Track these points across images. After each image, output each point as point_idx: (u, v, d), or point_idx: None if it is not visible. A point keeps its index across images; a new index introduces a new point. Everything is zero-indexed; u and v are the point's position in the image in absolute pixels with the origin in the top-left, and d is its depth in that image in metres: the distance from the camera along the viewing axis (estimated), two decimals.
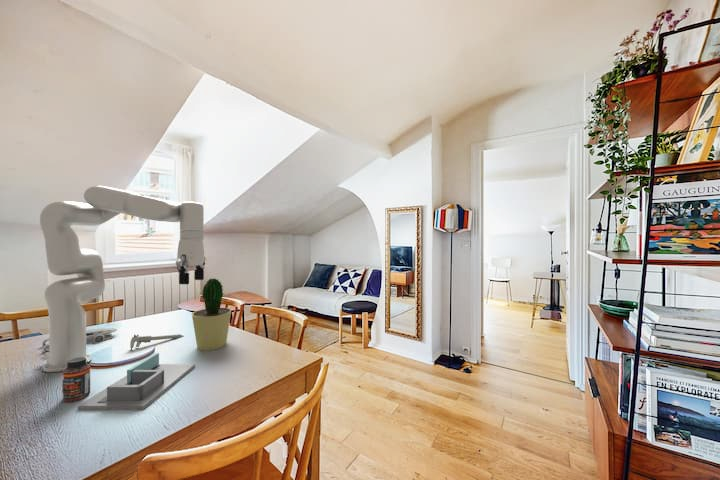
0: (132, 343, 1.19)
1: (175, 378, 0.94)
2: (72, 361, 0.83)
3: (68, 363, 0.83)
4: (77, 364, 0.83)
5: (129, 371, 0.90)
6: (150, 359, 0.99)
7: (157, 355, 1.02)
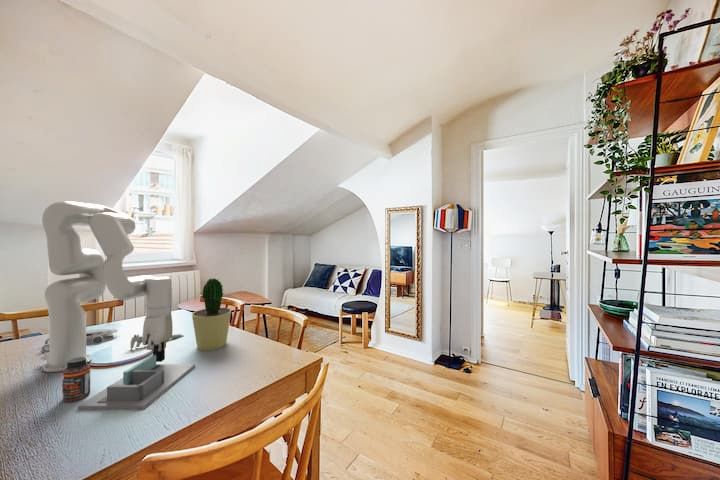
0: (132, 343, 1.19)
1: (175, 378, 0.94)
2: (72, 361, 0.83)
3: (68, 363, 0.83)
4: (77, 364, 0.83)
5: (125, 373, 0.89)
6: (147, 361, 0.97)
7: (154, 357, 1.01)
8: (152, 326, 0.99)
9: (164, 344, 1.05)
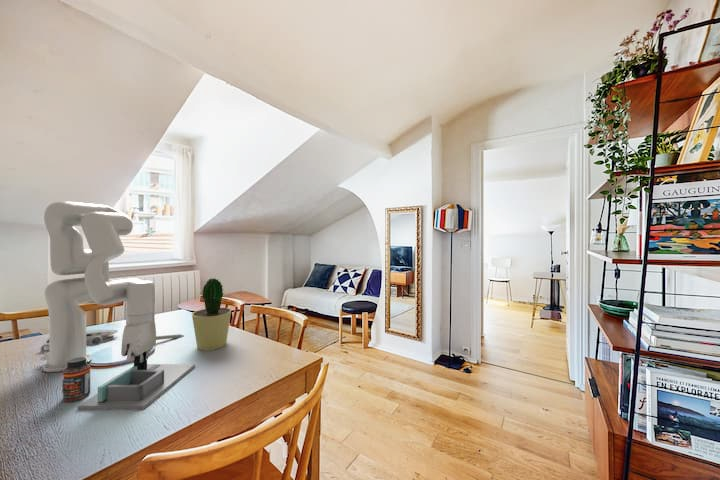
0: None
1: (175, 378, 0.94)
2: (72, 361, 0.83)
3: (68, 363, 0.83)
4: (77, 364, 0.83)
5: (100, 389, 0.80)
6: (126, 374, 0.89)
7: (135, 369, 0.92)
8: (132, 335, 0.90)
9: (146, 354, 0.96)
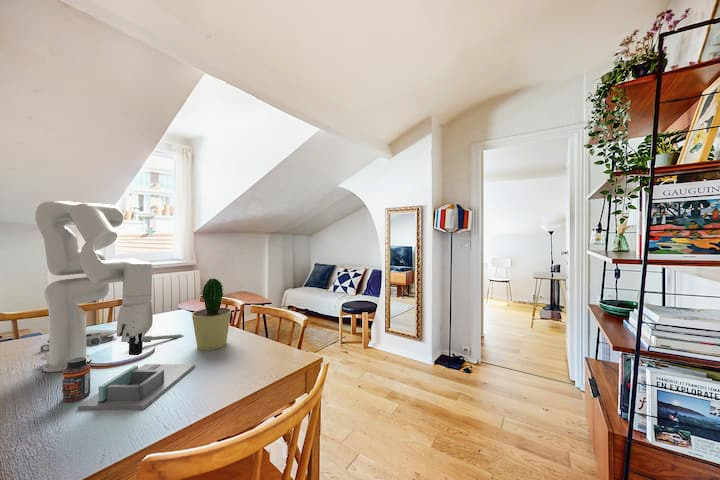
0: None
1: (175, 378, 0.94)
2: (72, 361, 0.83)
3: (68, 363, 0.83)
4: (77, 364, 0.83)
5: (101, 388, 0.80)
6: (127, 373, 0.89)
7: (136, 368, 0.92)
8: (128, 316, 0.89)
9: (142, 336, 0.95)
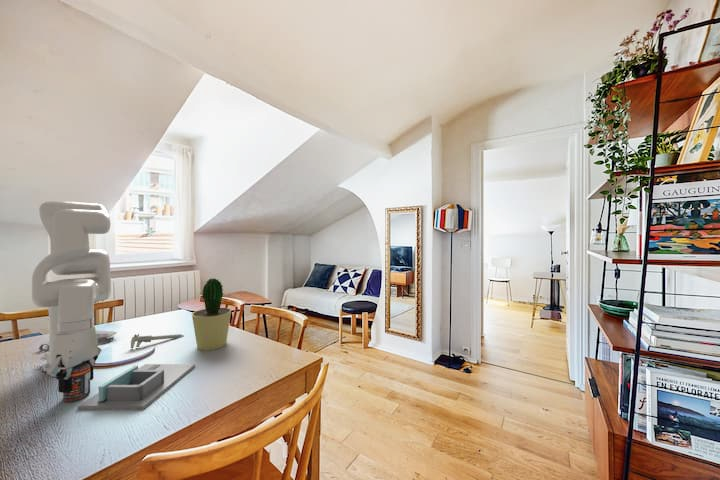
0: (132, 343, 1.20)
1: (175, 378, 0.94)
2: None
3: None
4: None
5: (101, 388, 0.80)
6: (127, 373, 0.89)
7: (136, 368, 0.92)
8: (63, 345, 0.80)
9: (93, 361, 0.88)
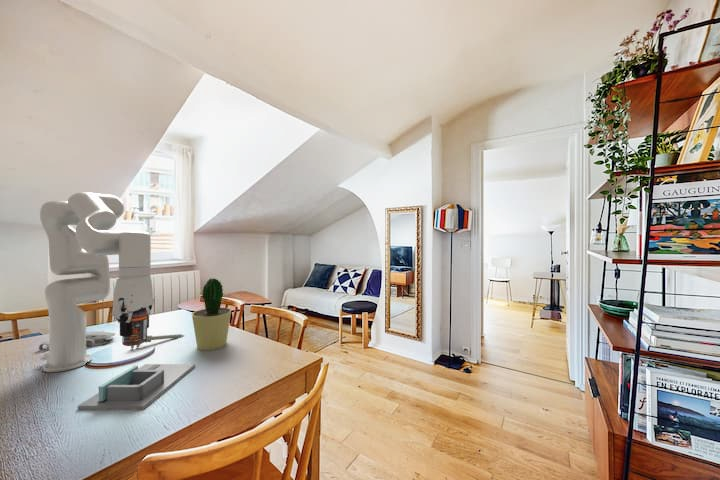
0: None
1: (175, 378, 0.94)
2: None
3: None
4: None
5: (101, 388, 0.80)
6: (127, 373, 0.89)
7: (136, 368, 0.92)
8: (125, 289, 0.81)
9: (148, 310, 0.90)
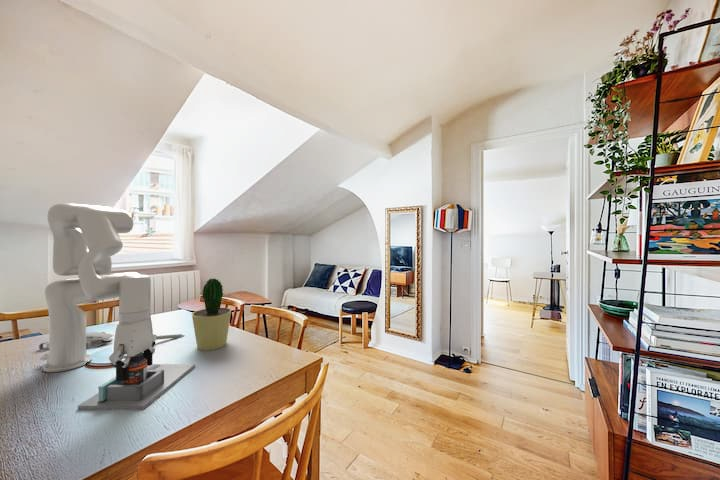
0: None
1: (175, 378, 0.94)
2: None
3: None
4: (136, 358, 0.85)
5: (101, 388, 0.80)
6: None
7: None
8: (125, 335, 0.81)
9: (152, 347, 0.92)
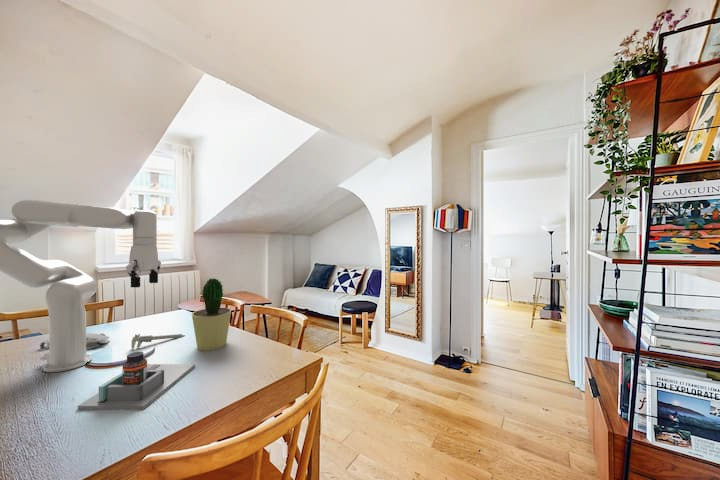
0: (133, 343, 1.20)
1: (175, 378, 0.94)
2: (131, 355, 0.85)
3: (128, 357, 0.84)
4: (136, 358, 0.85)
5: (101, 388, 0.80)
6: None
7: None
8: (138, 253, 1.08)
9: (157, 269, 1.18)
